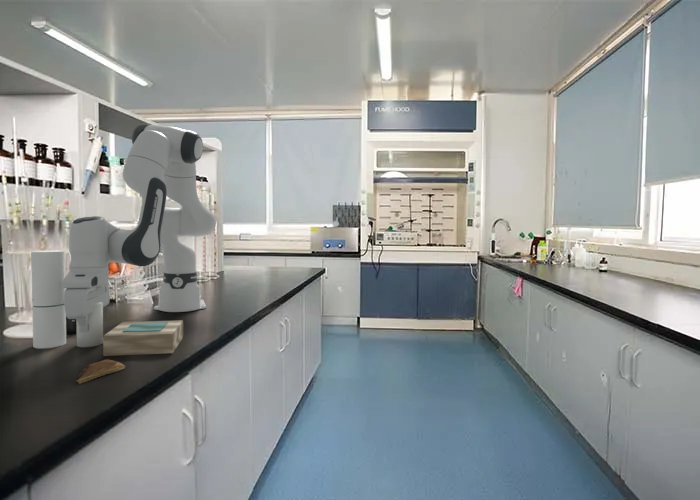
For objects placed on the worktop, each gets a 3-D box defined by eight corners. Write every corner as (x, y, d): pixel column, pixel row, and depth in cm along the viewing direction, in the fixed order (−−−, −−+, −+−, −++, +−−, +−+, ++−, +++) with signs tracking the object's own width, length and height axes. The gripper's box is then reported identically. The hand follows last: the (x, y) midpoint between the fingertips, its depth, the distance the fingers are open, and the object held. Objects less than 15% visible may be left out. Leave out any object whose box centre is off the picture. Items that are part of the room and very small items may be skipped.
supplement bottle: (56, 335, 119) (55, 294, 119) (61, 329, 125) (61, 290, 125) (84, 333, 122) (83, 293, 121) (88, 327, 128) (87, 289, 128)
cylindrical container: (63, 339, 115) (61, 250, 114) (68, 345, 110) (67, 251, 109) (31, 344, 110) (29, 250, 109) (35, 350, 105) (33, 252, 104)
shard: (76, 387, 83) (76, 378, 83) (54, 380, 87) (54, 372, 87) (126, 371, 93) (126, 363, 93) (104, 365, 96) (104, 358, 96)
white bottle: (82, 341, 114) (81, 296, 113) (106, 340, 115) (105, 295, 114) (72, 347, 108) (72, 299, 107) (98, 346, 109) (97, 299, 108)
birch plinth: (122, 339, 116) (122, 320, 116) (183, 337, 120) (183, 319, 119) (103, 356, 102) (103, 334, 101) (172, 353, 105) (172, 332, 105)
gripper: (91, 272, 120) (92, 319, 120) (58, 282, 100) (59, 338, 101) (115, 272, 121) (115, 319, 122) (87, 282, 101) (88, 337, 102)
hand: (90, 328), depth 111 cm, fingers closed on white bottle, 6 cm apart
